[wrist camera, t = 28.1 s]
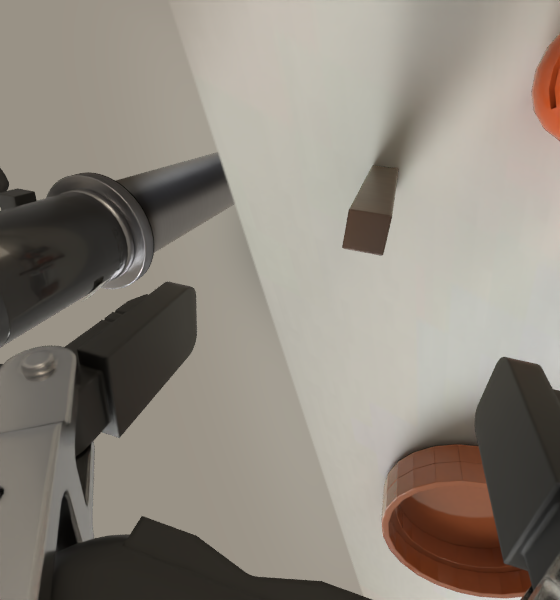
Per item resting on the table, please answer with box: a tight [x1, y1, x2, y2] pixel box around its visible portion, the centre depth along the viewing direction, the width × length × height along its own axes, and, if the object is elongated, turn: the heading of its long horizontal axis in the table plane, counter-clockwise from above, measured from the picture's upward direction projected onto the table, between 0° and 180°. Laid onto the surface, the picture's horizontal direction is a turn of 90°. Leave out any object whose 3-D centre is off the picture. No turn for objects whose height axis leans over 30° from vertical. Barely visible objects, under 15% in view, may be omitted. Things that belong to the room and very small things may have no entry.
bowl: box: [382, 444, 532, 598], centre depth 40 cm, size 17×17×5 cm
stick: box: [342, 165, 398, 255], centre depth 24 cm, size 2×2×14 cm
